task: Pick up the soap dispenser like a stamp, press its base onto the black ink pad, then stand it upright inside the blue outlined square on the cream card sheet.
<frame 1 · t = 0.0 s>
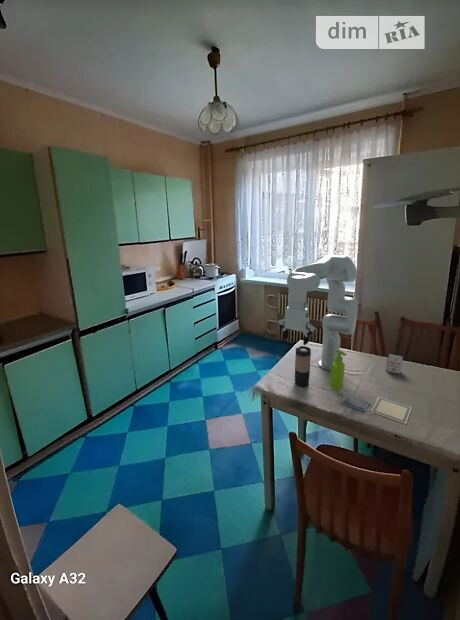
hand: (295, 341, 130), 31 cm above the table, fingers open, 9 cm apart
travel mug: (301, 383, 154), on the table
soap dispenser: (337, 387, 150), on the table
ink pad: (355, 403, 136), on the table
card sheet: (391, 409, 131), on the table
white patterned box: (393, 371, 163), on the table
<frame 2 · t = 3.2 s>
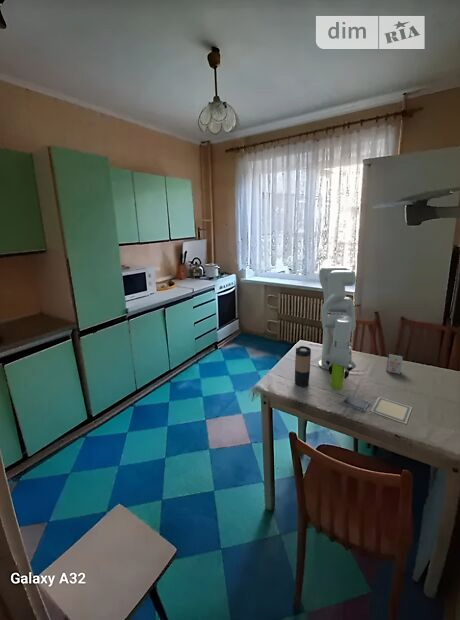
hand: (338, 375, 148), 7 cm above the table, fingers open, 6 cm apart
soap dispenser: (337, 387, 150), on the table, touching gripper
everything else where it was.
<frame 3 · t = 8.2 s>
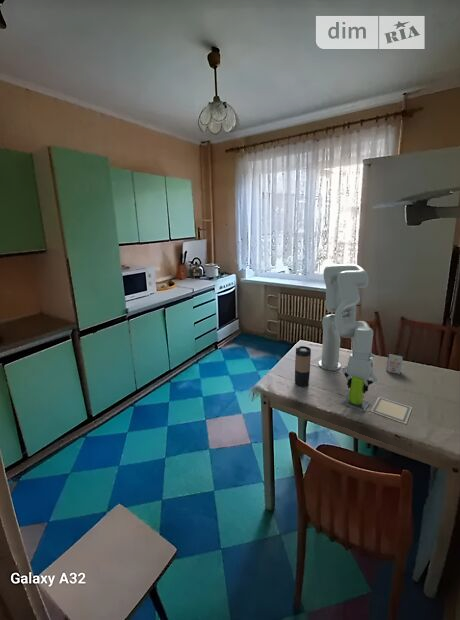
hand: (357, 389, 133), 8 cm above the table, fingers closed on soap dispenser, 6 cm apart
soap dispenser: (355, 401, 135), point 1 cm above the table, touching gripper, ink pad
everything else where it was.
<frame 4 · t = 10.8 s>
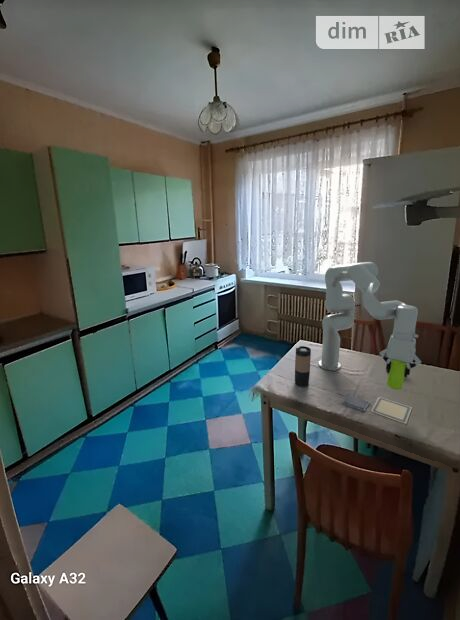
hand: (397, 373, 125), 19 cm above the table, fingers closed on soap dispenser, 6 cm apart
soap dispenser: (395, 386, 127), point 12 cm above the table, touching gripper
everything else where it was.
when the fingers open (8 cm above the table, at t = 13.1 s): soap dispenser stays where it is, resting on card sheet.
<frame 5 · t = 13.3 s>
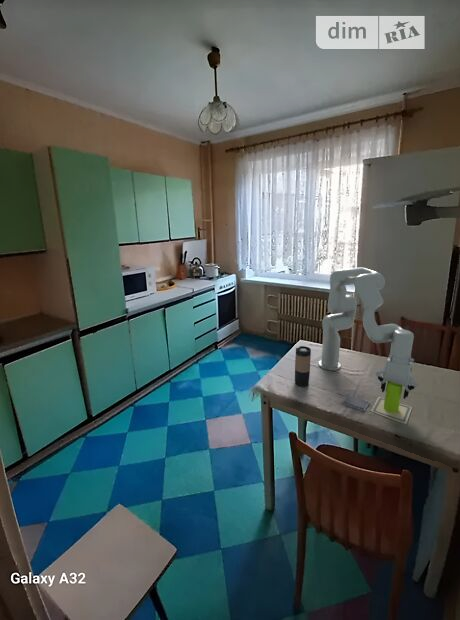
hand: (393, 393, 128), 8 cm above the table, fingers open, 8 cm apart
soap dispenser: (391, 409, 131), resting on card sheet
everything else where it was.
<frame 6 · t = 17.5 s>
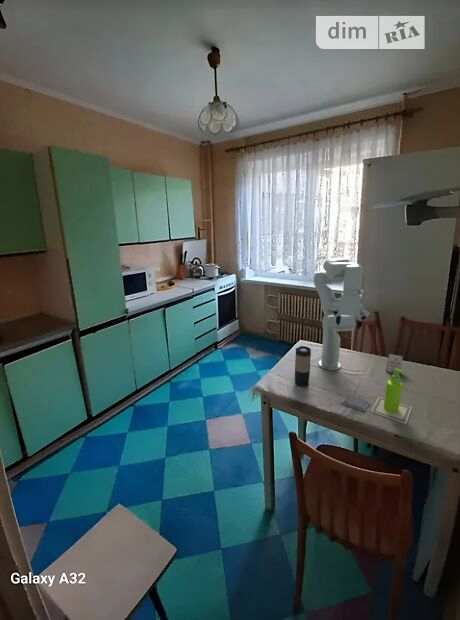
hand: (348, 326, 140), 33 cm above the table, fingers open, 9 cm apart
nothing on the table moved.
at the end: soap dispenser inside the target area on the card sheet (0.2 cm from its centre), point 0.1 cm above the card sheet's base; soap dispenser tilted 0°; the gripper is holding nothing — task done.
